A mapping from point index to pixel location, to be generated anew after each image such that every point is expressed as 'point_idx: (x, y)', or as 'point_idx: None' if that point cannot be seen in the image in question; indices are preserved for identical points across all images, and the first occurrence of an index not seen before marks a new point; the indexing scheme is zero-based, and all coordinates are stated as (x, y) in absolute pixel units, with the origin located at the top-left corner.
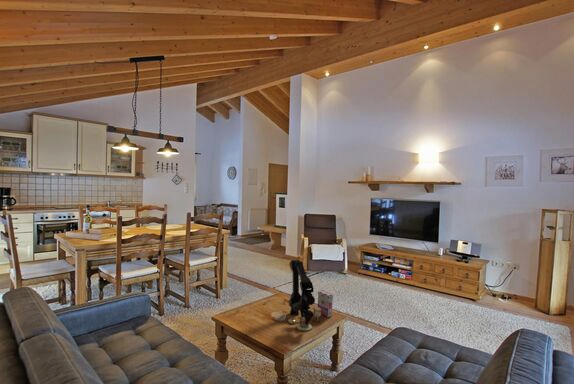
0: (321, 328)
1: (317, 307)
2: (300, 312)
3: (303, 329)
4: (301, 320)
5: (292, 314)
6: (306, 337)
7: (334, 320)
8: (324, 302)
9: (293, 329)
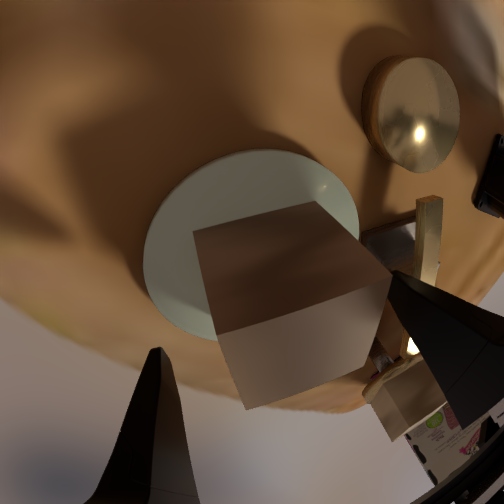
0: (232, 384)
1: (429, 416)
2: (475, 314)
3: (148, 261)
4: (247, 318)
5: (495, 156)
6: (8, 283)
7: (330, 404)
8: (441, 426)
9: (189, 84)
